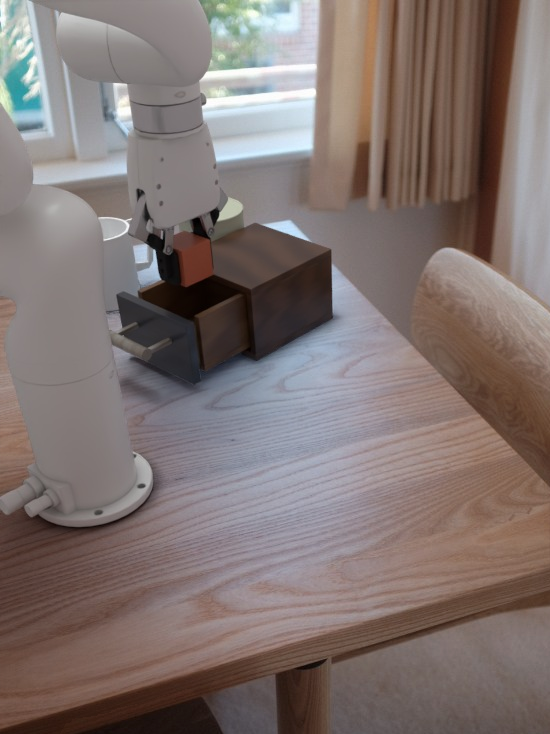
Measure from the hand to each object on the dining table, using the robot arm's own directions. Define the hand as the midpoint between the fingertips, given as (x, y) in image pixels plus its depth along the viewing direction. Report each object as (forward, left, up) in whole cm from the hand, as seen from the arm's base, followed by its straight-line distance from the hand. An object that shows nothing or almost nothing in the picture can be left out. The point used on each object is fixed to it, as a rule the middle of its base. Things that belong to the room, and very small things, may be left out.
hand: (186, 273), depth 108 cm
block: (0, 0, 0) cm, 0 cm away
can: (+15, +12, -11) cm, 23 cm away
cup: (+5, +21, -11) cm, 25 cm away
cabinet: (+11, 0, -11) cm, 16 cm away
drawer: (-2, 0, -10) cm, 10 cm away
